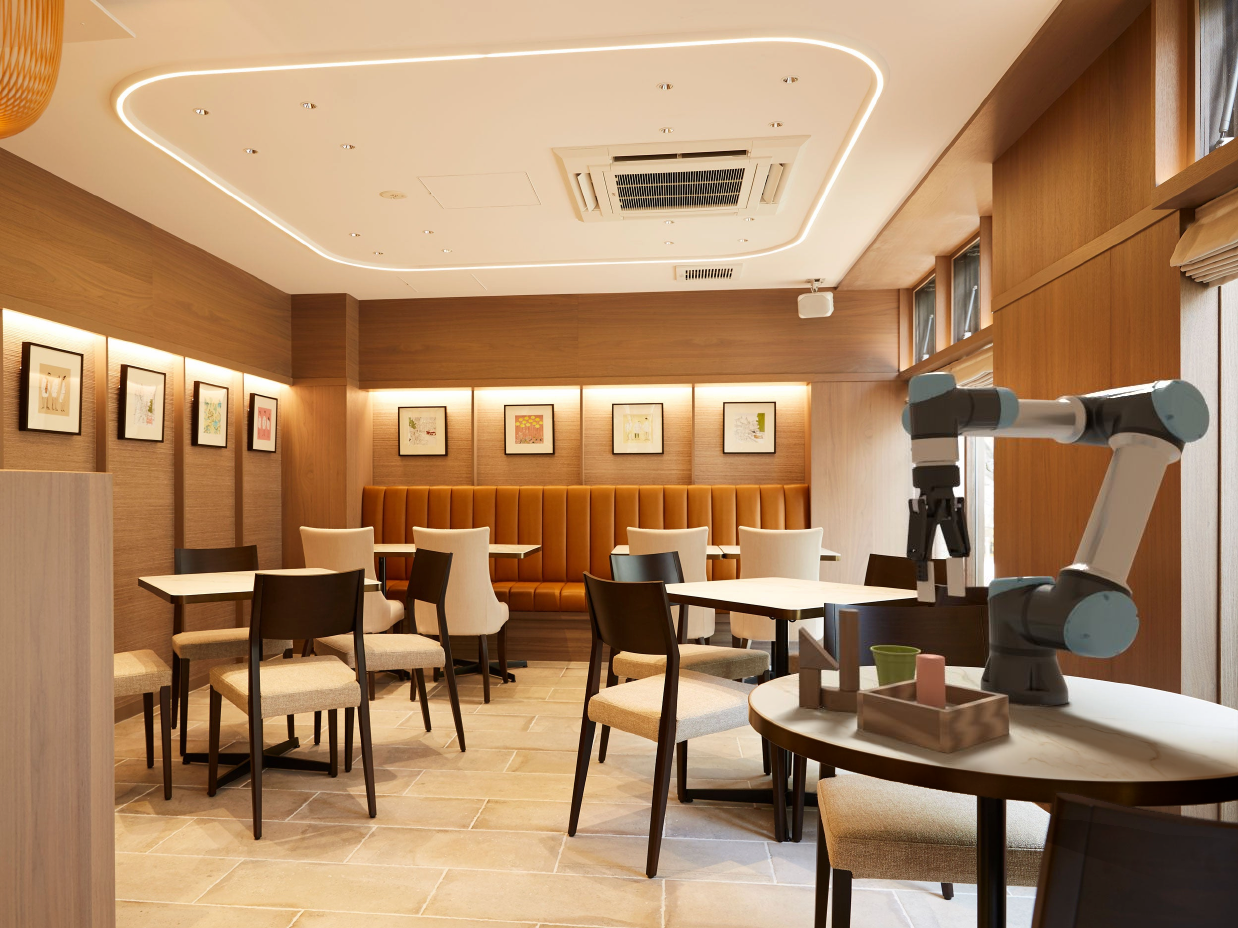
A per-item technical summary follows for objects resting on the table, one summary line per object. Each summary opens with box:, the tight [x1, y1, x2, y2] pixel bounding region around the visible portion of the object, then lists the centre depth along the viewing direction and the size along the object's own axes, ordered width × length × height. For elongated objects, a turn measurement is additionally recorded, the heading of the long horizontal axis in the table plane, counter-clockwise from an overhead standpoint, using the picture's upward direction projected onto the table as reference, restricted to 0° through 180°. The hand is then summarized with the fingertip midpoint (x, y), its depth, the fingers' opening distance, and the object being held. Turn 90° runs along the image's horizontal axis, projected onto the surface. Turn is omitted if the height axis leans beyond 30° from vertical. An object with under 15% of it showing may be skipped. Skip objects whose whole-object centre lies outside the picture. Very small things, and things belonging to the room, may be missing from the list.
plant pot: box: [869, 645, 922, 687], centre depth 154 cm, size 9×9×9 cm
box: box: [856, 678, 1010, 754], centre depth 128 cm, size 18×16×6 cm
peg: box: [915, 653, 946, 709], centre depth 128 cm, size 4×4×12 cm
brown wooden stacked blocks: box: [798, 608, 863, 714], centre depth 143 cm, size 4×11×18 cm, turn 66°
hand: (941, 598), depth 132 cm, fingers open, 9 cm apart
